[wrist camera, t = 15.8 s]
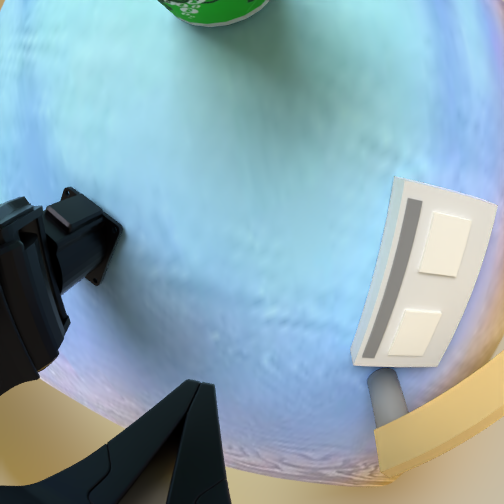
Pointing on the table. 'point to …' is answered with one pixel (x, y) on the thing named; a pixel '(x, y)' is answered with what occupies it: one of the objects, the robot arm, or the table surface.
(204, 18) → the soda can
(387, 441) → the bar
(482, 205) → the white flat block
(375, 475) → the table surface
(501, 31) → the table surface
